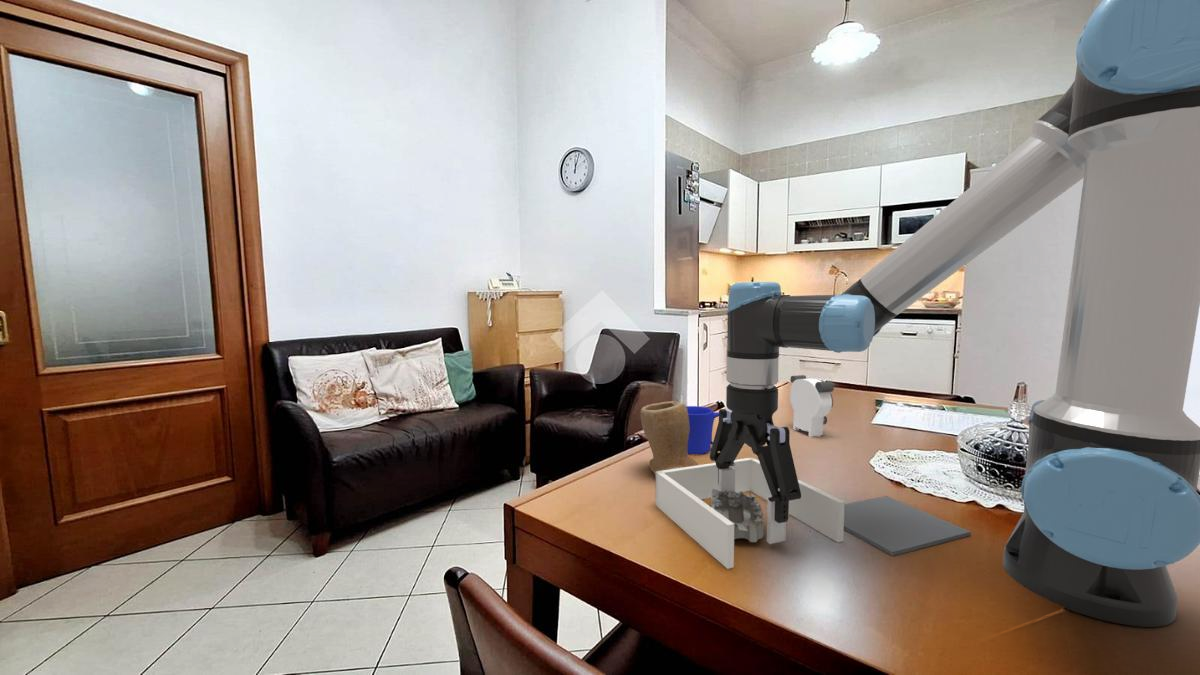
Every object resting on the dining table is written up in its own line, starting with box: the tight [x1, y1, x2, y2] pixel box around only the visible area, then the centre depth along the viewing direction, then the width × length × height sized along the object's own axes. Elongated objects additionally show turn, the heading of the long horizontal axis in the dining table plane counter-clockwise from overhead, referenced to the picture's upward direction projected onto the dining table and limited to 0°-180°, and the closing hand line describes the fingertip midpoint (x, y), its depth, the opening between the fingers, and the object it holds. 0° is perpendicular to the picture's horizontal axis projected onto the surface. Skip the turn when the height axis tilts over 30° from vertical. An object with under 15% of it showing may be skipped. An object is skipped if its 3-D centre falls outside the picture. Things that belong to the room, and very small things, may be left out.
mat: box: [844, 495, 972, 557], centre depth 76 cm, size 14×16×1 cm
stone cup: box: [640, 400, 700, 476], centre depth 96 cm, size 15×12×15 cm
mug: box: [685, 405, 719, 455], centre depth 111 cm, size 8×12×10 cm
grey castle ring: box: [710, 489, 765, 543], centre depth 75 cm, size 11×8×4 cm
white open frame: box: [654, 456, 845, 570], centre depth 77 cm, size 21×20×6 cm
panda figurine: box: [789, 374, 835, 438], centre depth 123 cm, size 12×11×15 cm
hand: (749, 522), depth 75 cm, fingers open, 11 cm apart
